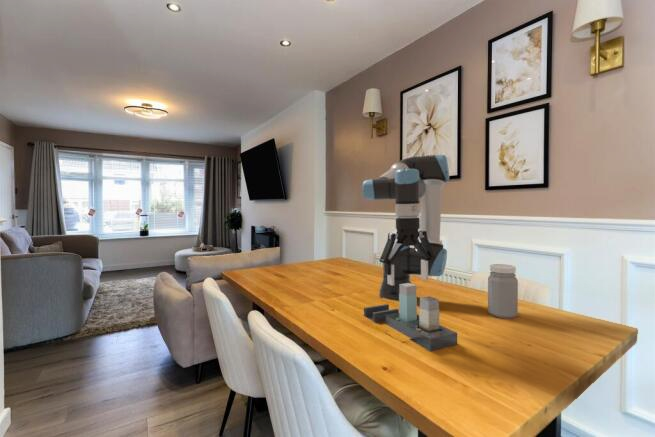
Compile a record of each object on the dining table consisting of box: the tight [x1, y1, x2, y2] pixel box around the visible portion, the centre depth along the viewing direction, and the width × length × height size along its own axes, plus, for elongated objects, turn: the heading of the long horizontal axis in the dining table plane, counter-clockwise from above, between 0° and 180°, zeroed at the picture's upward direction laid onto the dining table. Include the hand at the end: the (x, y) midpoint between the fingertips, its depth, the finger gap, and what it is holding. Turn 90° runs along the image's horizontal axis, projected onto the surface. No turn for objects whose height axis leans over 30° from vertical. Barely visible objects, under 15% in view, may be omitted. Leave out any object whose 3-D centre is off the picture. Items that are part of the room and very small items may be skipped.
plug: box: [398, 283, 418, 322], centre depth 104 cm, size 4×4×14 cm
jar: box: [487, 263, 519, 320], centre depth 117 cm, size 10×10×18 cm
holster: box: [363, 303, 399, 324], centre depth 114 cm, size 10×8×4 cm
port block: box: [384, 295, 458, 352], centre depth 100 cm, size 10×22×12 cm, turn 24°
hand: (408, 282), depth 104 cm, fingers open, 13 cm apart
